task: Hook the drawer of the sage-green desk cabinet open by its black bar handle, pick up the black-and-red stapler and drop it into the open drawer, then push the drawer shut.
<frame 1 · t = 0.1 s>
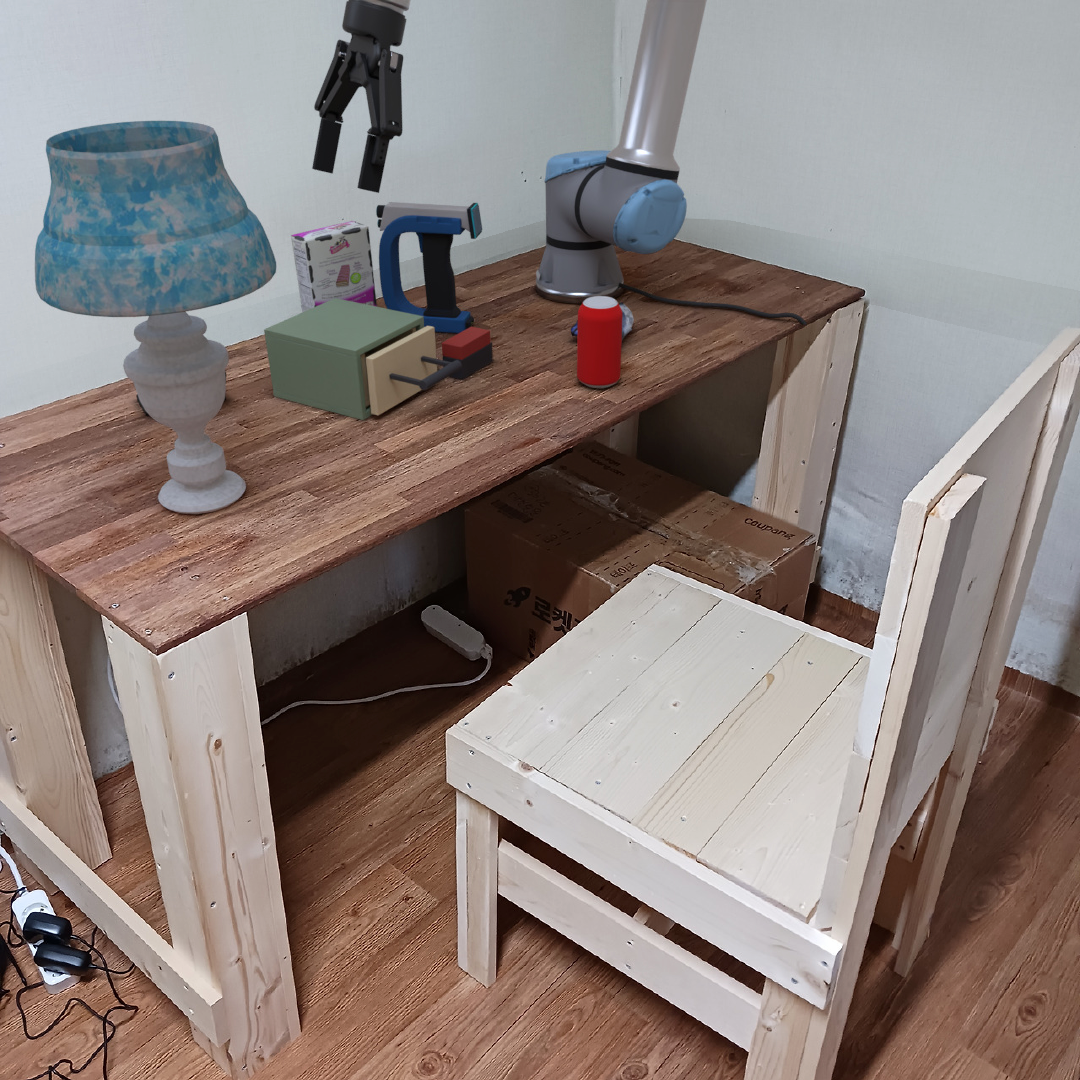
hand: (344, 180, 139), 28 cm above the table, tool tilted 20°, fingers open, 13 cm apart
cabinet: (351, 389, 151), on the table
snack package: (608, 338, 167), on the table
beverage can: (598, 384, 152), on the table
candy bar box: (342, 334, 170), on the table
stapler: (468, 368, 157), on the table
table lamp: (203, 496, 125), on the table
handheld scanner: (435, 328, 172), on the table
drawer: (382, 364, 146), point 5 cm above the table, slide at 1.0 cm
handheld gaming console: (184, 406, 147), on the table
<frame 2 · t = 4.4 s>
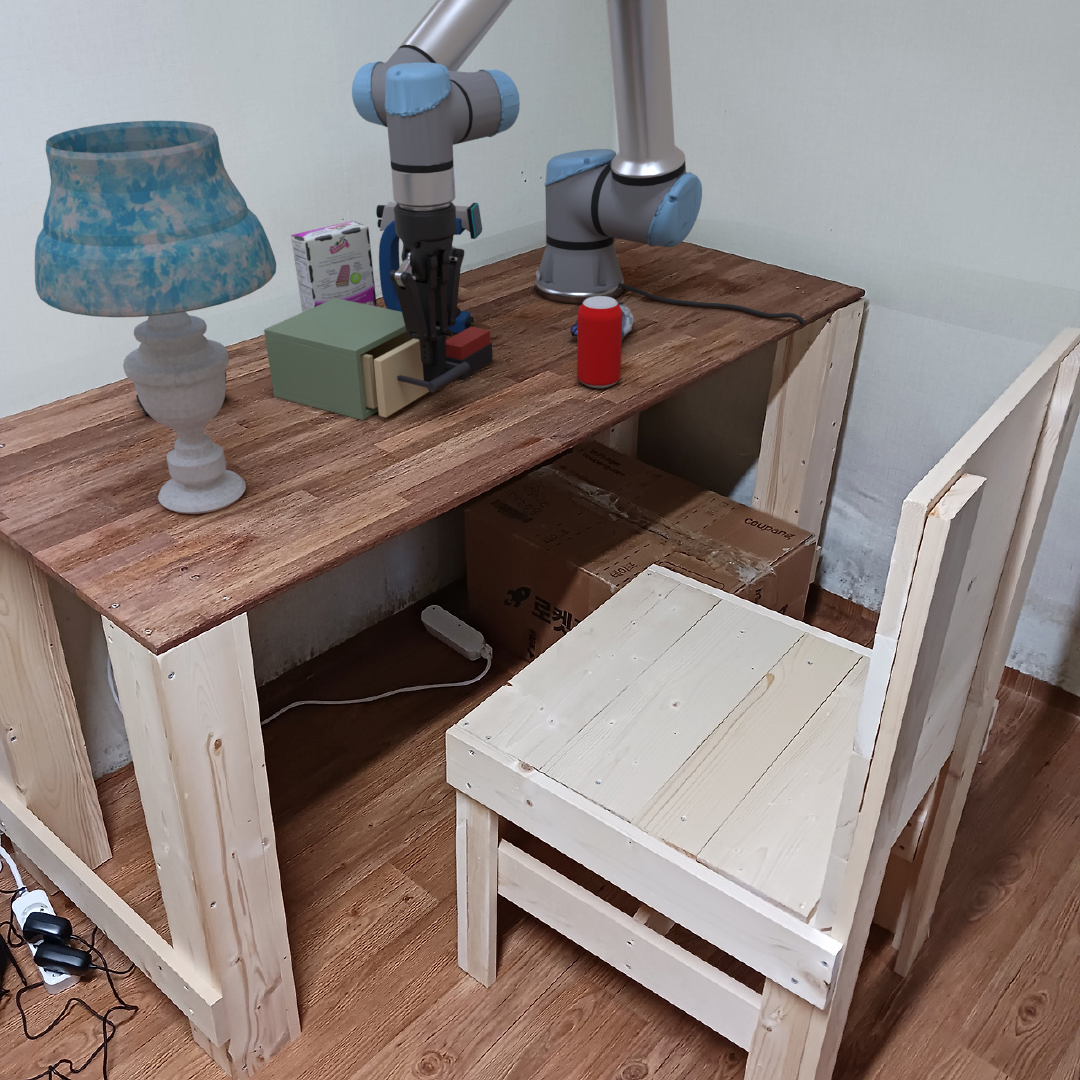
hand: (435, 383, 142), 4 cm above the table, tool pointing down, fingers closed
drawer: (390, 366, 145), point 5 cm above the table, slide at 2.3 cm
everything else where it was.
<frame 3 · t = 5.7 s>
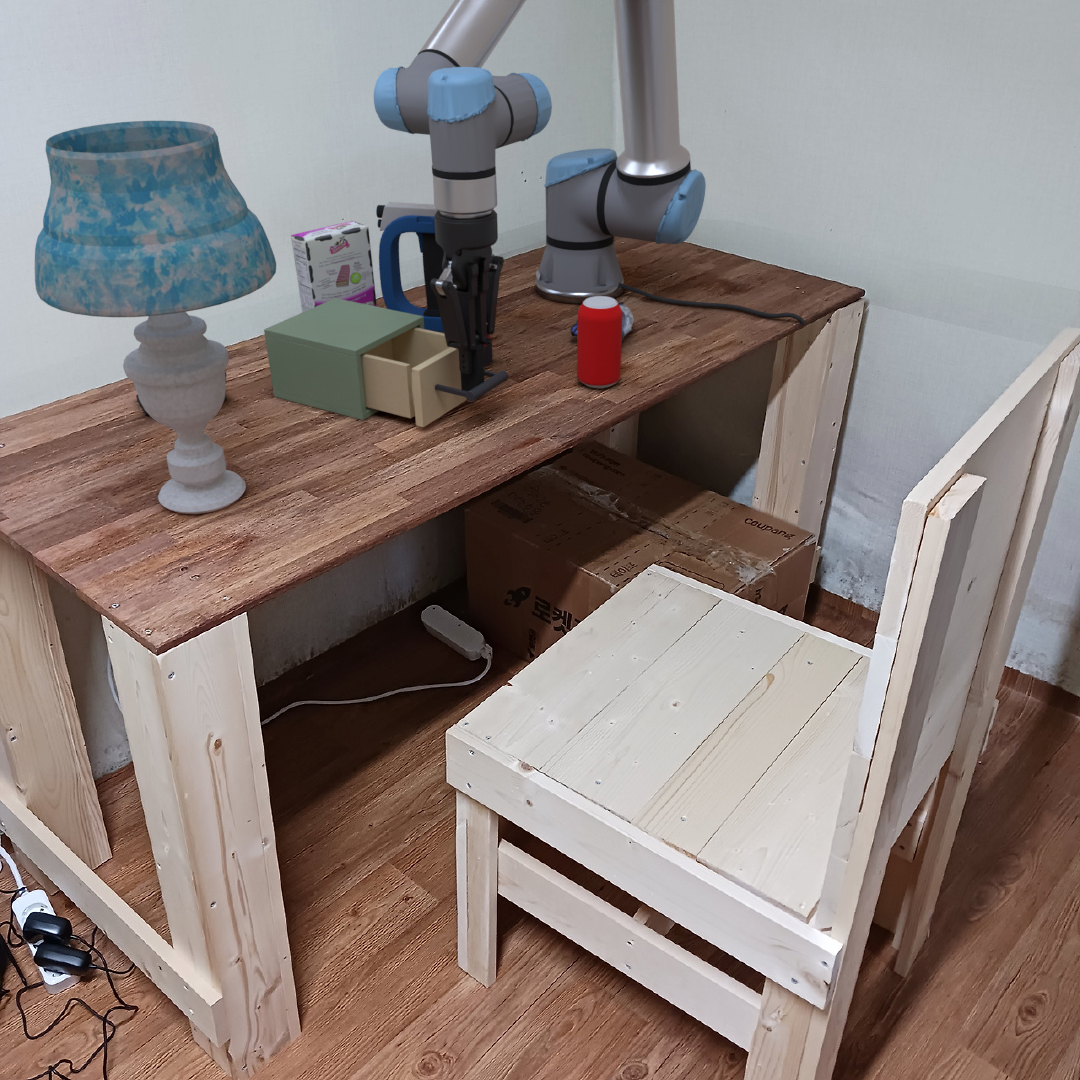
hand: (473, 393, 139), 4 cm above the table, tool pointing down, fingers closed
drawer: (426, 374, 142), point 5 cm above the table, slide at 8.3 cm, touching gripper
everything else where it was.
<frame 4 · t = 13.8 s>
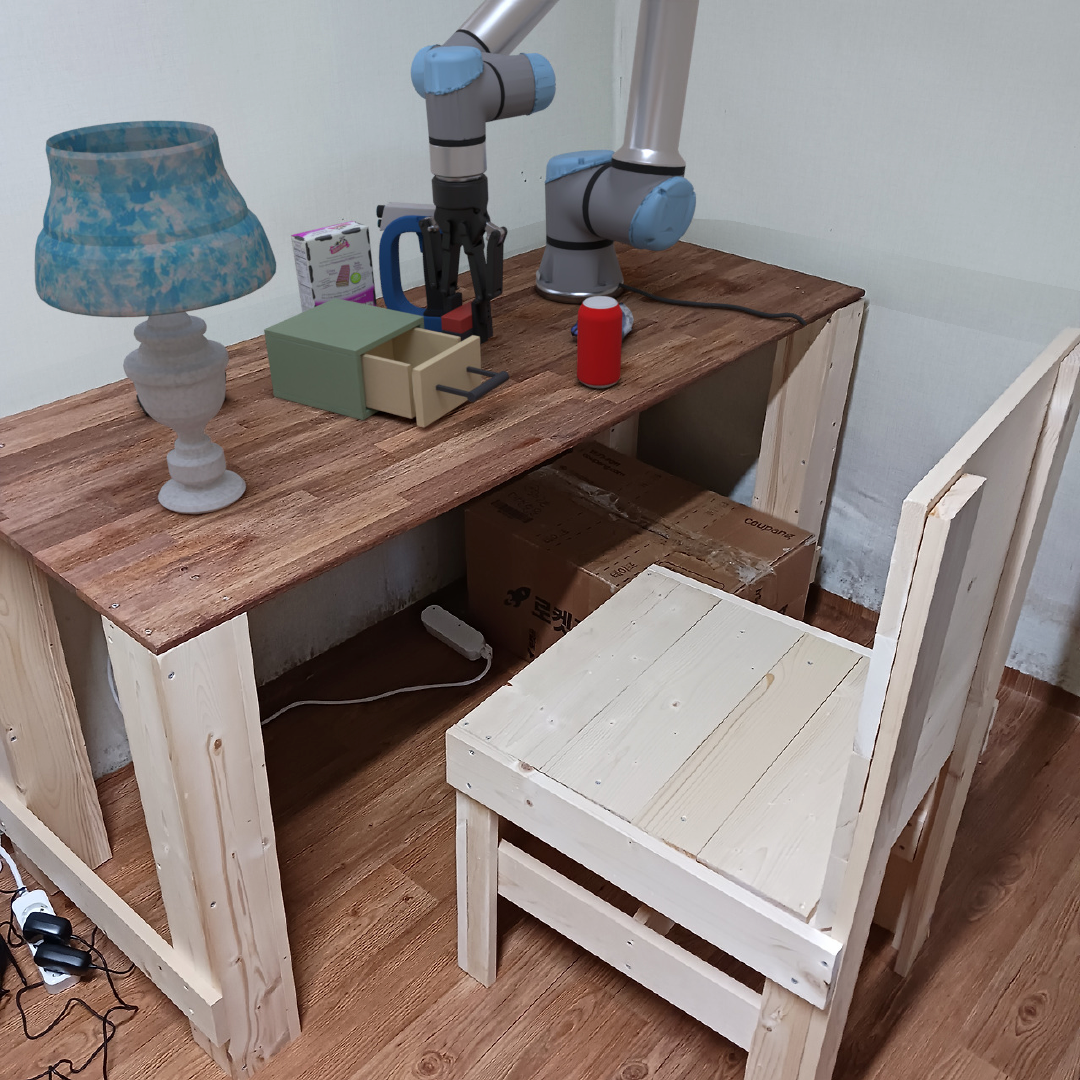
hand: (468, 340, 155), 4 cm above the table, tool pointing down, fingers closed on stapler, 3 cm apart
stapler: (468, 342, 155), point 4 cm above the table, touching gripper
drawer: (427, 375, 142), point 5 cm above the table, slide at 8.5 cm
everything else where it was.
when the fingers open (7 cm above the table, at t = 17.9 s): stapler drops 4 cm, resting on drawer.
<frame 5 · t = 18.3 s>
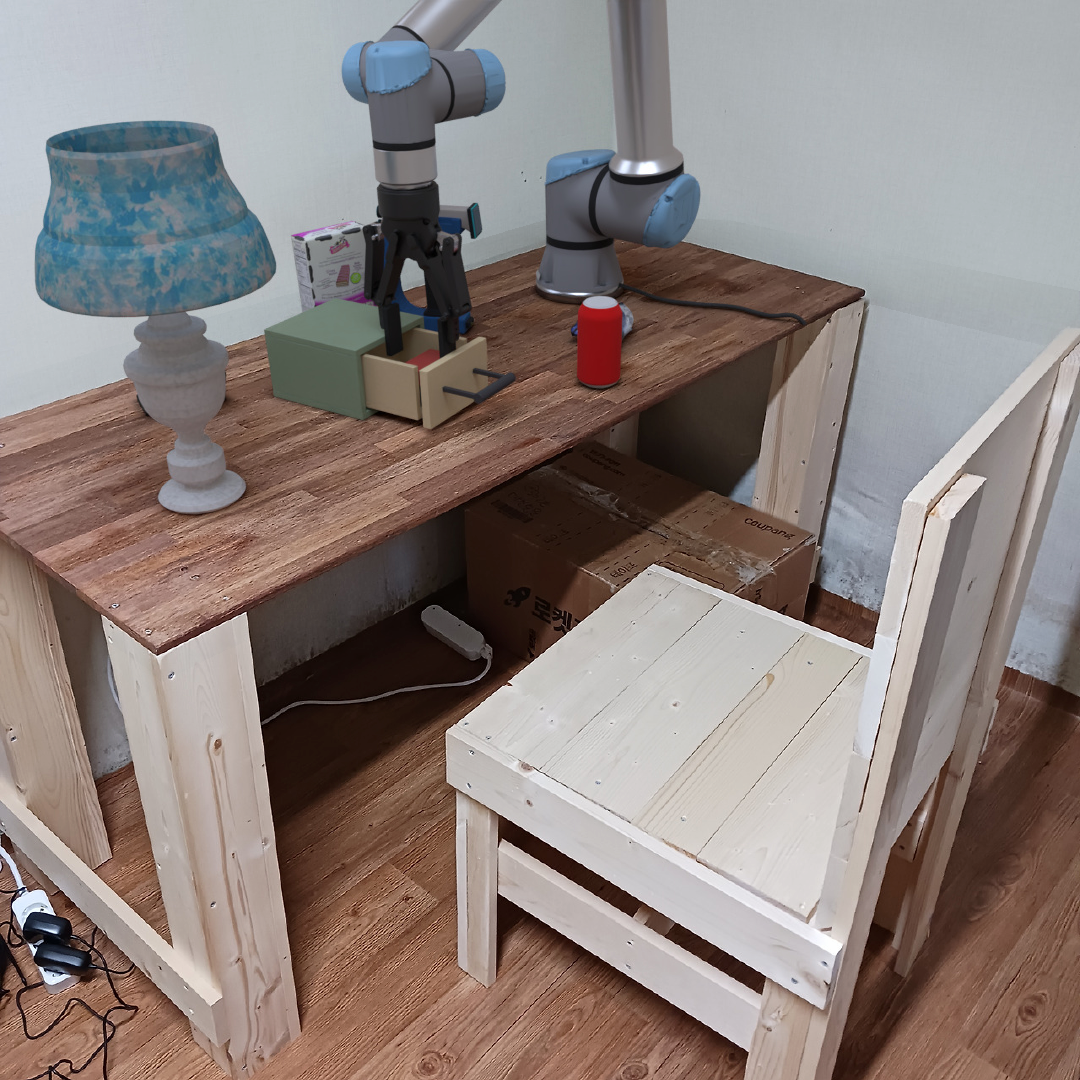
hand: (421, 358, 141), 7 cm above the table, tool pointing down, fingers open, 8 cm apart
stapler: (426, 394, 144), point 2 cm above the table, touching drawer
drawer: (433, 376, 142), point 5 cm above the table, slide at 9.5 cm, touching gripper, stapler
everything else where it was.
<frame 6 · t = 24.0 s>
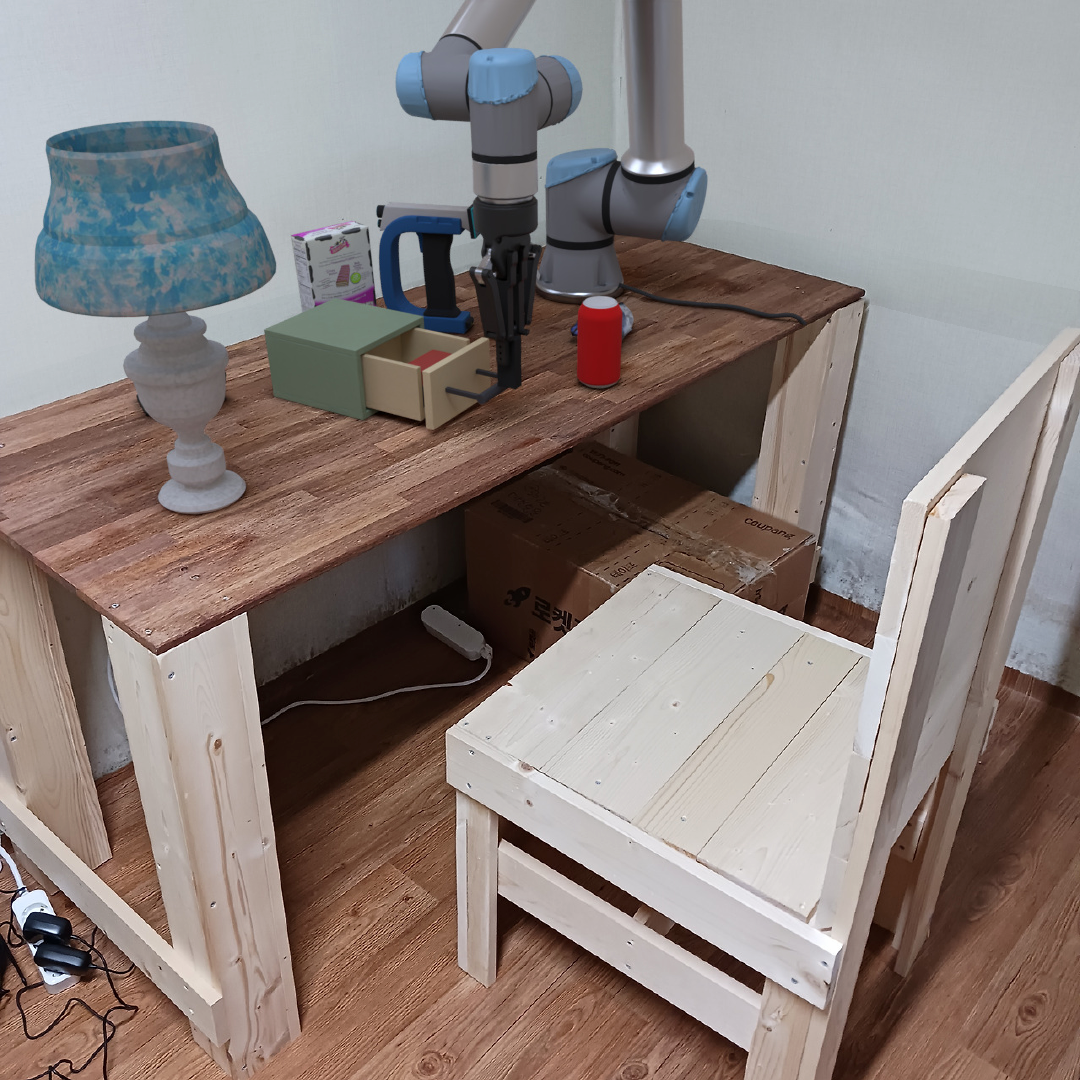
hand: (509, 385, 136), 6 cm above the table, tool pointing down, fingers closed
drawer: (436, 377, 142), point 5 cm above the table, slide at 10.0 cm, touching gripper, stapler
everything else where it was.
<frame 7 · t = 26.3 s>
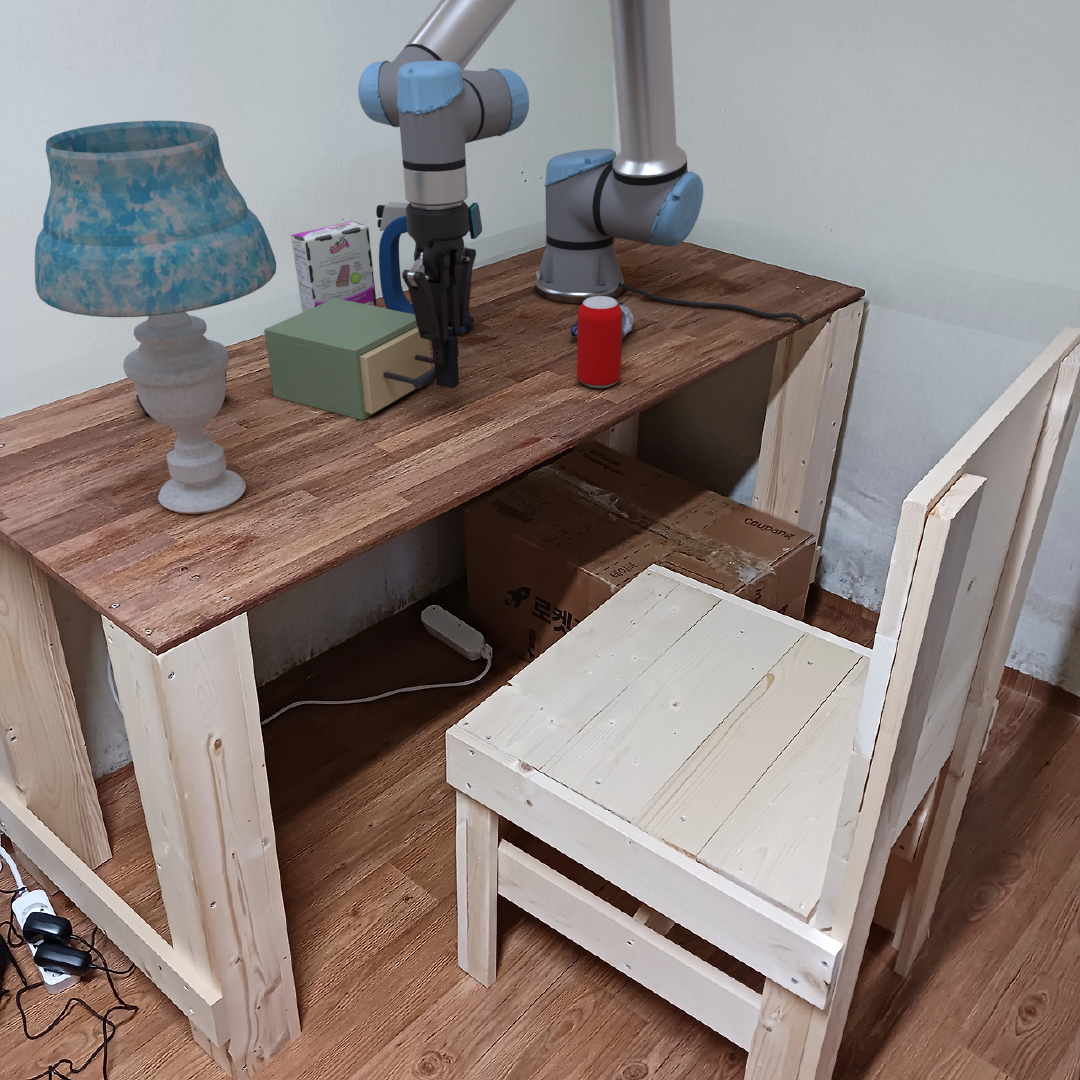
hand: (447, 384, 141), 4 cm above the table, tool pointing down, fingers closed
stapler: (371, 380, 148), point 2 cm above the table, touching drawer
drawer: (376, 363, 146), point 5 cm above the table, slide at 0.0 cm, touching cabinet, gripper, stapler
everything else where it was.
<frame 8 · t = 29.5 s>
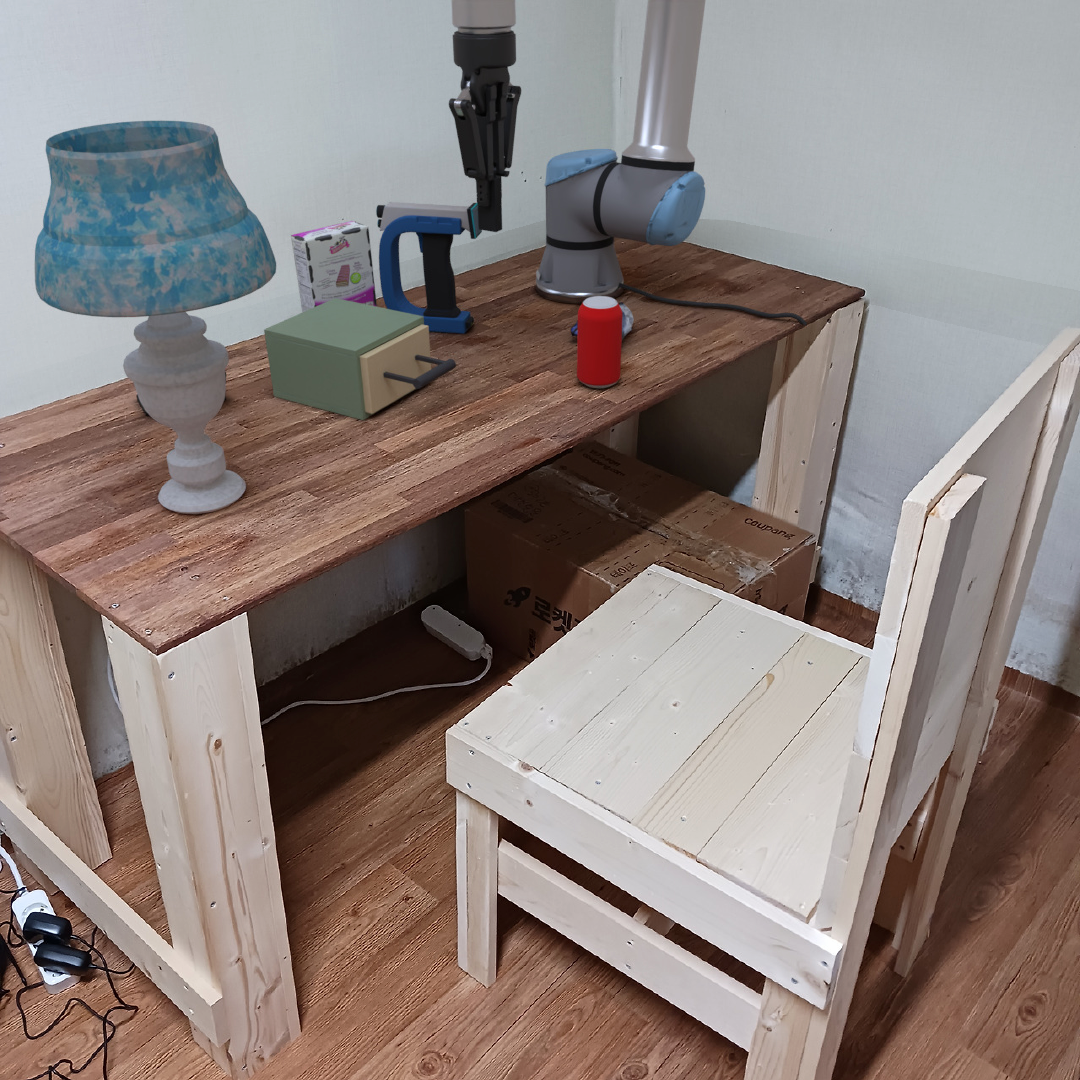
hand: (490, 229, 139), 22 cm above the table, tool pointing down, fingers closed
drawer: (376, 363, 146), point 5 cm above the table, slide at 0.0 cm, touching cabinet, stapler
everything else where it was.
at the end: drawer pulled out 10.1 cm at the most during the clip, back to where it started at the end; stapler inside the target area in the cabinet (1.0 cm from its centre), point 2.1 cm above the cabinet's base; drawer slide at 0.0 cm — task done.
